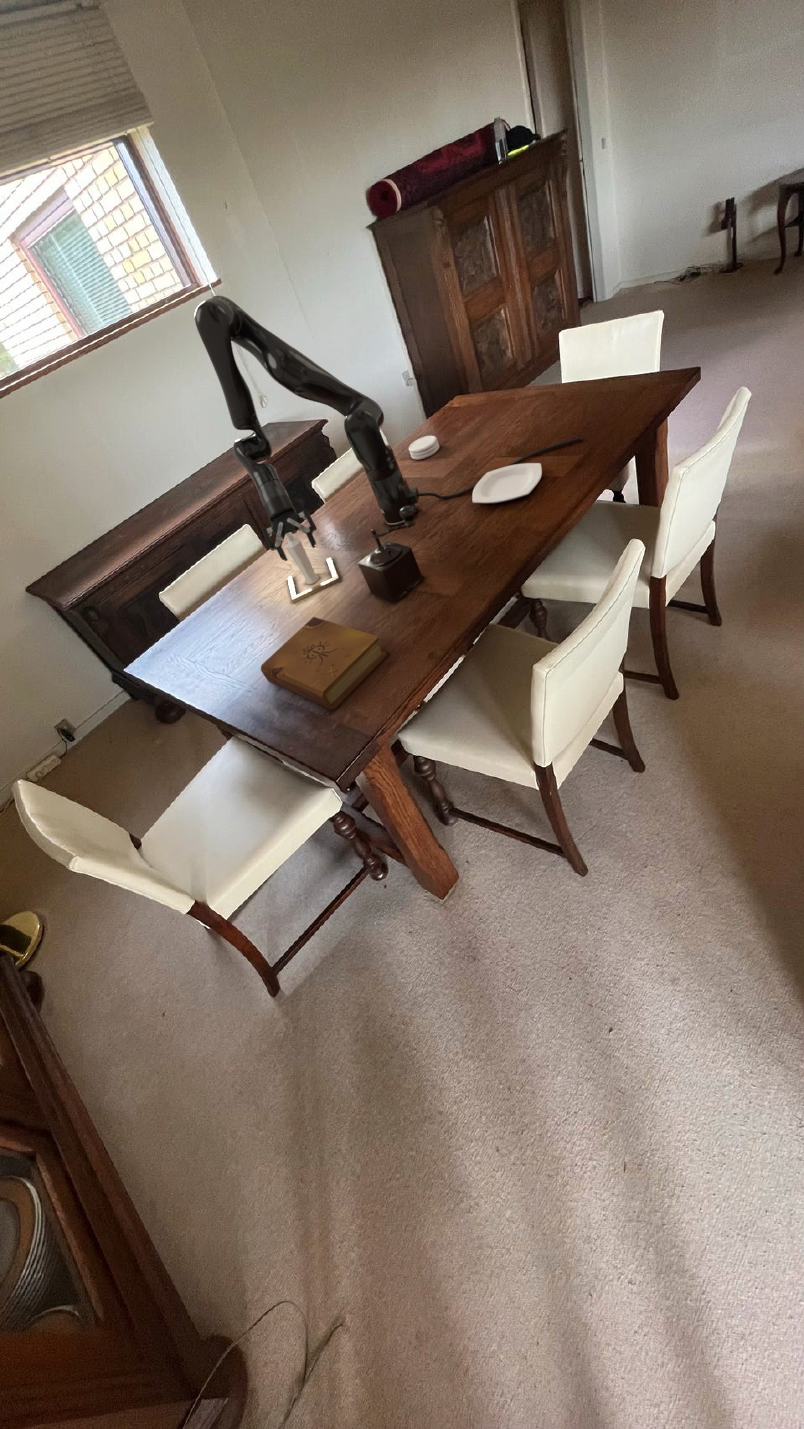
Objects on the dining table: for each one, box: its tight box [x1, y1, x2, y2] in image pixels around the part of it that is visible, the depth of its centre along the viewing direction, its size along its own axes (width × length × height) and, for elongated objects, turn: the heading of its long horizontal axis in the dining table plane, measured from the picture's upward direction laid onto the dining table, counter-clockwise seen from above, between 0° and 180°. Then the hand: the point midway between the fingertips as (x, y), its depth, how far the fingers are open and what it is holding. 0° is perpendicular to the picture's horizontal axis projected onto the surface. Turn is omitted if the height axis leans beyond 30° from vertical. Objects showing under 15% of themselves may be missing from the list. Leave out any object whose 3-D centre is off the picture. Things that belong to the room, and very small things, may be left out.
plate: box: [471, 462, 543, 504], centre depth 172 cm, size 19×19×2 cm
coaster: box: [408, 435, 440, 461], centre depth 209 cm, size 10×10×4 cm
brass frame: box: [286, 556, 341, 604], centre depth 176 cm, size 13×14×1 cm
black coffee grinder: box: [357, 506, 424, 603], centre depth 153 cm, size 16×11×18 cm
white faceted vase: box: [284, 532, 320, 585], centre depth 171 cm, size 5×4×15 cm
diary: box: [260, 616, 388, 711], centre depth 142 cm, size 23×19×6 cm
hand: (299, 553), depth 173 cm, fingers open, 8 cm apart
